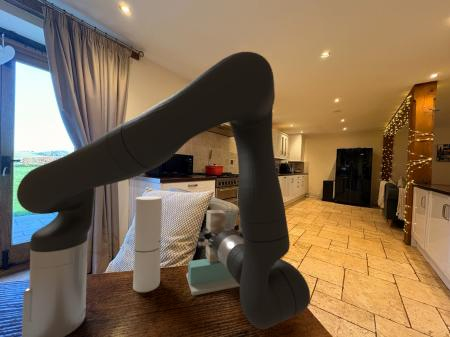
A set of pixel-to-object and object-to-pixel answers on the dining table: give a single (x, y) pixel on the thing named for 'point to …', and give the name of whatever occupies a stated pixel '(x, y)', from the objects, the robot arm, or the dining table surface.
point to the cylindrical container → (147, 243)
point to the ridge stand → (208, 277)
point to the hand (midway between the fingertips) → (212, 230)
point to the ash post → (214, 229)
